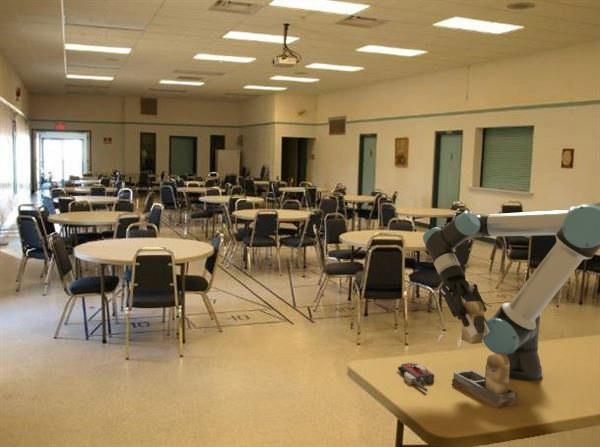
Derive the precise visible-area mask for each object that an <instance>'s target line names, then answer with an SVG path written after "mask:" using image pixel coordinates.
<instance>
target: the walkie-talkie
mask: <svg viewBox="0 0 600 447" xmlns="http://www.w3.org/2000/svg"><path fill="white" fill-rule="evenodd" d="M397 370H398V371H399V372H400V374H402V375H403V374H404V375H403V376H404V381H406V382H407V383H408V384H409V385H415V386H416V387H417V388H420V389H421V390H423V391H425V392H428V388H427V387H425V386H423V384H432V383H435V374H434V373H432V372H431V371H429V370H428V369H427V368H426V367H425V366H423V365H421V364H418V363H416V362H407V363H406V362H405V363H402V364H401V365H400V366H398V367H397Z"/></svg>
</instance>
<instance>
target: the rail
mask: <svg viewBox="0 0 600 447" xmlns="http://www.w3.org/2000/svg"><path fill="white" fill-rule="evenodd" d="M486 358H487V359H486V364H485V376H484V374H483V375H482V374H481V373H479V372H477V371H475V370H473V369H468V370H463V371H458V372H457V371H456V372H453V378H452V379H451V382H452V385H454V386H456V387H457V388H459V389H461V391H462V390H463V391H465V392H466V393H468V394H469V395H471V396H473V397H475V398H477V399H478V400H480V401H482V402H484V403H486V404H487V405H489V406H491V407H493V408H495V409H499V408H506V407H511V406H516V405H518V404H519V403H518V402H519V399H518V392H517V391H514V390H512V389H510V388H509V384H510V383H509V382H510V378H509V368H510V362H509V358H508V357H507V355H506V354H504V353H500V354H495V353H494V354H490V355H488V356H487V357H486Z"/></svg>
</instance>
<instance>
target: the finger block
mask: <svg viewBox="0 0 600 447" xmlns="http://www.w3.org/2000/svg"><path fill="white" fill-rule="evenodd" d="M463 305H464V309H465V312H466V314H465V315H467V314H469V316H470V318H471V320H472V322H473V324H474V327H475V329H476V331H477V334H476V335H475V336H474V337H472V338H471V336H470V334H469V332H468V330H467V328H466V327H465V326H464V325H463V323H462V322H461V336H460V337H461V340H462V341H464V342H466V343H469V344H471V345H475V344H483V333H484V319H486V317H485V312H484V306H483V304H482V303H481V302H480V301H471V302H466V301H465V302H464V303H463Z"/></svg>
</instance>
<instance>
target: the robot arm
mask: <svg viewBox="0 0 600 447" xmlns="http://www.w3.org/2000/svg"><path fill="white" fill-rule="evenodd" d="M521 236H522V237H526V236H530V237H531V236H555V239H556V242H555V244H554V245H553V246H552V248H551V249H550V250H549V252H548V253H547V254H546V256H545V257H544V258H543V259H542V260H541V262H540V263H539V265H538V266H537V267H536V269H535V270H534V271H533V273H532V274H531V275H530V276H529V277H528V279H527V280H526V282H525V283H524V285H523V286H521V289H519V291H518V292H517V294H516V295H515V296H514V297H513V299H512V301H510V302H504V303H503V304H502V305H501V306H500V307H499V308H498V310H497V311H496V313H495V314H494V316H492V317H491V318H489V319H486V318H485V319H484V333H483V339H482V343H483V344H484V345H485V347H486V348H487V349H488V350H489V351H491V353H494V354H500V353H504V354H506V355H507V357H508V358H509V362H510V368H509V379H513V380H519V381H535V380H539V379H540V378H541V377H542V376H543V367H542V365H541V360H540V356H539V351H538V350H539V338H540V336H539V335H540V323H541V313H542V312H543V310H544V309H545V308H546V307H547V305H549V303H550V302H551V301H552V299H553V298H554V296H555V295H556V294H557V293H558V292H559V291H560V289H561V288H562V287H563V286H564V284H565V283H566V282H567V280H568V279H569V278H570V277H571V276H572V274H573V273H574V272H575V271H576V269H577V268H578V267H579V266H580V264H581V263H582V262H583V260H591V259H592V258H593V257H594V256H595V255H596V254H597V252H599V250H600V202H593V203H584V204H580V205H578V206H571V207H570V208H569V209H568V210H567V209H566V210H548V211H544V210H543V211H529V212H528V211H525V212H510V213H509V212H508V213H504V212H503V213H491V214H489V213H487V214H483V213H478V214H476V213H475V214H474V213H473V212H470V211H469V210H465V211H463V212H462V213H460V214H458V215H457V216H456V217H455V218H453V219H452V220H451V221H450V222H449V223H448V224H446V225H445V226H444V227H443V228H441V227H439V226H437V227H431V229H428V230H426V231H425V232H424V234H423V235H422V240H423V243H424V245H425V248H426V249H425V250H427V252H428V255H429V256H430V258H431V260H432V263H433V265H434V267H435V269H436V271H437V274H438V275H439V279H440V280H441V282H442V285H443V286H442V287H441V288H440V289H439V293H440V295H441V296H442V297H443V298H444V300H445V302H446V305H447V307H448V309H449V310H450V312H451V314H452V316H453V317H454V318H456V317H457V319H458V320H459V321H461V324H462V323H463V325H464V326H465V327H466V328H467V330H468V332H469V334H470V336H471V338H472V337H474V336H475V335H476V334H477V331H476V329H475V327H474V324H473V322H472V320H471V318H470V316H469V314H467V315H465V314H466V312H465V309H464V302H463V300H465V303H466V302H471V301H480V302H481V303H482V304H483V306H484V313H485V312H487V307H486V305H485V303H484V300H483V298H482V296H481V294H480V292H479V288H478V285H477V284H476V283H474V284H470V283H469V282H468V281H467V280H466V274H465V271H464V269H463V268H462V266H461V263H460V262H459V260H458V258H457V255H456V254H455V251H454V249H456V248H457V247H458V246H460V245H461V244H462V243H464V242H465V241H467V240H470V239H474V238H484V237H485V238H486V237H521Z"/></svg>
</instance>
